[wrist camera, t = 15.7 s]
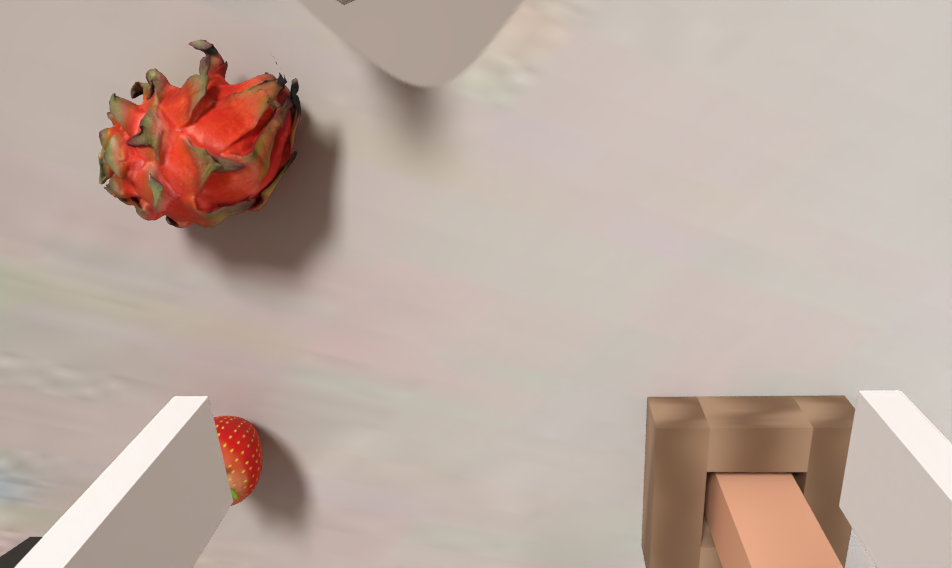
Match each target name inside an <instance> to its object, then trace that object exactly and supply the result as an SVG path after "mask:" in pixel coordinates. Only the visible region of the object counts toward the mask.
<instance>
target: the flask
mask: <svg viewBox="0 0 952 568" xmlns="http://www.w3.org/2000/svg"><path fill="white" fill-rule="evenodd" d="M337 1H339V2H341V3H342V4H344V5H345V4H347V3H349V2H352V1H354V0H337Z"/></svg>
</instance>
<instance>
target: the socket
mask: <svg viewBox="0 0 952 568" xmlns="http://www.w3.org/2000/svg"><path fill="white" fill-rule="evenodd" d="M854 414H855V408H854V407H853V406H852V405H851V403H850V402H849V401H848V400H847V398H846V397H845V396H744V397H647V420H646V446H645V472H644V497H643V523H642V550H643V555H644V560H645V565H646V568H722V565H721V562H720V559H719V556H718V553H717V550H716V547H715V544H714V541H713V538H712V535H711V532H710V529H709V526H708V523H707V520H706V517H705V514H704V501H705V488H706V475H707V472H791V474H792V475H793V477H794V479H795V481H796V483H797V485H798V486H799V488H800V490H801V492H802V494H803V495H804V497H805V499H806V501H807V503H808V505H809V506H810V508H811V510H812V512H813V514H814V516H815V517H816V519H817V521H818V523H819V525H820V526H821V528H822V530H823V532H824V534H825V536H826V537H827V539H828V541H829V543H830V545H831V546H832V548H833V550H834V552H835V554H836V556H837V557H838V559H839V561H840V563H841V565H842V567H843V568H844V567H845V562H846V556H847V551H848V545H849V540H850V534H851V529H852V527H851V525H850V523H849V522H848V520H847V518H846V517H845V515H844V513H843V512H842V510H841V509H840V507H839V503H840V497H841V491H842V485H843V479H844V473H845V467H846V461H847V456H848V450H849V444H850V438H851V432H852V426H853V420H854Z"/></svg>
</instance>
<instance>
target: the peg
mask: <svg viewBox="0 0 952 568" xmlns="http://www.w3.org/2000/svg"><path fill="white" fill-rule="evenodd" d="M704 514H705V517H706V520H707V523H708V526H709V529H710V532H711V535H712V538H713V541H714V544H715V547H716V550H717V553H718V556H719V559H720V562H721V565H722V568H843V567H842V565H841V563H840V561H839V559H838V557H837V556H836V554H835V552H834V550H833V548H832V546H831V545H830V543H829V541H828V539H827V537H826V536H825V534H824V532H823V530H822V528H821V526H820V525H819V523H818V521H817V519H816V517H815V516H814V514H813V512H812V510H811V508H810V506H809V505H808V503H807V501H806V499H805V497H804V495H803V494H802V492H801V490H800V488H799V486H798V485H797V483H796V481H795V479H794V477H793V475H792V474H791V472H707V475H706V488H705V501H704Z"/></svg>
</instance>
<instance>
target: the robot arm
mask: <svg viewBox="0 0 952 568" xmlns="http://www.w3.org/2000/svg"><path fill="white" fill-rule="evenodd" d="M232 503H233V499H232V495H231V490H230V486H229V482H228V477H227V473H226V469H225V464H224V460H223V456H222V452H221V447H220V443H219V439H218V434H217V430H216V426H215V422H214V417H213V413H212V409H211V404H210V400H209V396H174V397H173V398H172V399H171V400H170V401H169V403H168V404H167V405H166V406H165V407H164V408H163V409H162V410H161V411H160V412H159V413H158V414H157V415H156V416H155V418H154V419H153V420H152V421H151V422H150V423H149V424H148V425H147V426H146V427H145V428H144V429H143V430H142V431H141V433H140V434H139V435H138V436H137V437H136V438H135V439H134V440H133V441H132V442H131V443H130V444H129V445H128V446H127V448H126V449H125V450H124V451H123V452H122V453H121V454H120V455H119V456H118V457H117V458H116V459H115V460H114V461H113V463H112V464H111V465H110V466H109V467H108V468H107V469H106V470H105V471H104V472H103V473H102V474H101V475H100V476H99V478H98V479H97V480H96V481H95V482H94V483H93V484H92V485H91V486H90V487H89V488H88V489H87V490H86V491H85V492H84V494H83V495H82V496H81V497H80V498H79V499H78V500H77V501H76V502H75V503H74V504H73V505H72V506H71V507H70V509H69V510H68V511H67V512H66V513H65V514H64V515H63V516H62V517H61V518H60V519H59V520H58V521H57V522H56V524H55V525H54V526H53V527H52V528H51V529H50V530H49V531H48V532H47V533H46V534H45V535H44V536H43V537H29V538H28V539H26V540H25V541H23V542H22V543H20V544H19V545H17V546H16V547H14V548H13V549H12V550H10V551H9V552H7V553H6V554H4V555H3V556H1V557H0V568H193V566H194V565H195V563H196V561H197V560H198V558H199V556H200V555H201V553H202V552H203V550H204V548H205V547H206V545H207V543H208V542H209V540H210V539H211V537H212V535H213V534H214V532H215V530H216V529H217V527H218V526H219V524H220V522H221V521H222V519H223V517H224V516H225V514H226V513H227V511H228V509H229V508H230V506H231V504H232ZM839 507H840V509H841V510H842V512H843V513H844V515H845V517H846V518H847V520H848V522H849V523H850V525H851V527H852V528H853V530H854V532H855V533H856V535H857V536H858V538H859V540H860V541H861V543H862V545H863V546H864V548H865V550H866V551H867V553H868V555H869V556H870V558H871V559H872V561H873V563H874V564H875V566H876V568H952V444H951V443H950V442H949V441H948V440H947V439H946V438H945V437H944V436H943V435H942V433H941V432H940V431H939V430H938V429H937V428H936V427H935V426H934V425H933V424H932V423H931V422H930V421H929V420H928V419H927V418H926V417H925V416H924V415H923V414H922V413H921V411H920V410H919V409H918V408H917V407H916V406H915V405H914V404H913V403H912V402H911V401H910V400H909V399H908V398H907V397H906V396H905V395H904V394H903V393H902V392H901V391H900V390H880V391H858V396H857V402H856V408H855V414H854V420H853V426H852V432H851V438H850V444H849V450H848V456H847V461H846V467H845V473H844V479H843V485H842V491H841V497H840V503H839Z"/></svg>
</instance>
